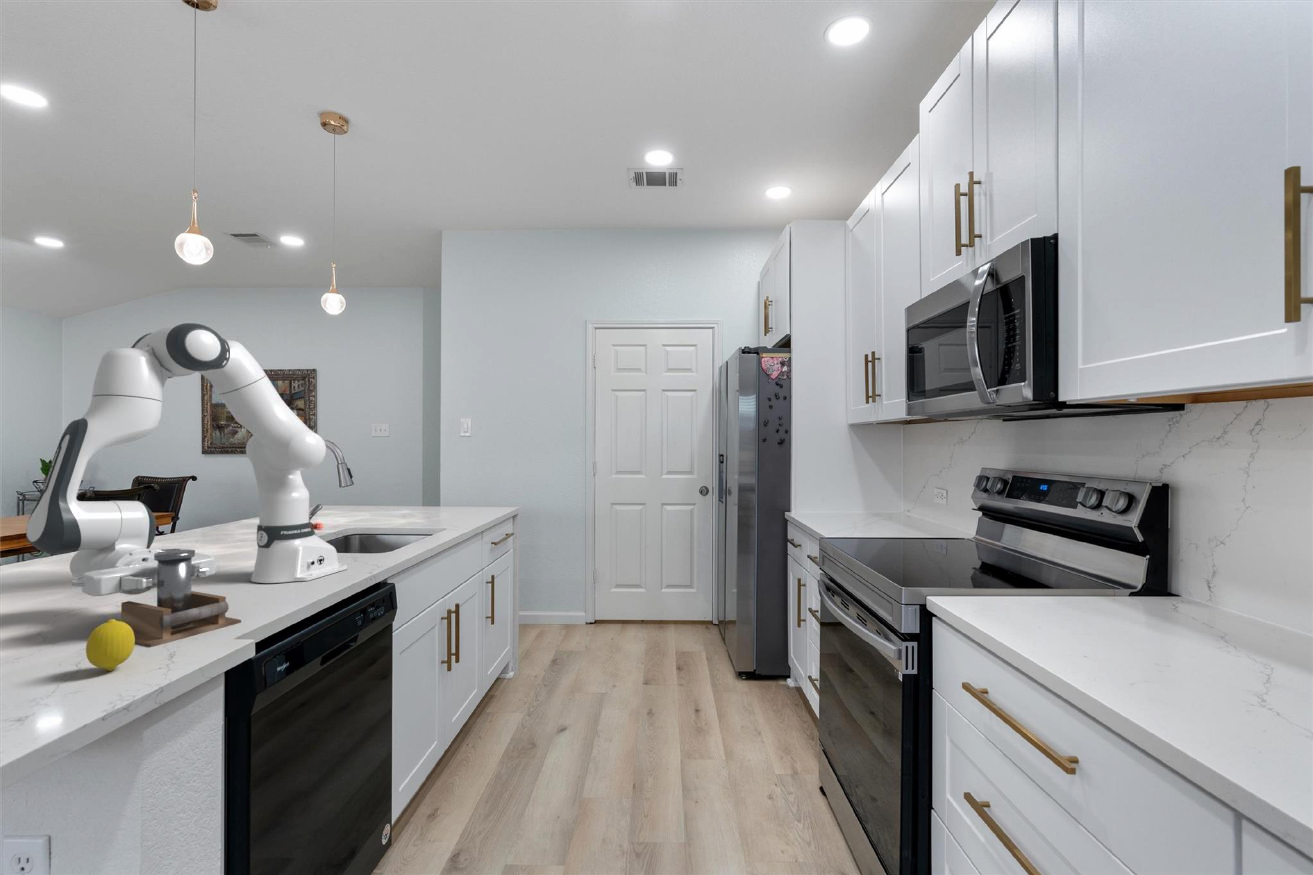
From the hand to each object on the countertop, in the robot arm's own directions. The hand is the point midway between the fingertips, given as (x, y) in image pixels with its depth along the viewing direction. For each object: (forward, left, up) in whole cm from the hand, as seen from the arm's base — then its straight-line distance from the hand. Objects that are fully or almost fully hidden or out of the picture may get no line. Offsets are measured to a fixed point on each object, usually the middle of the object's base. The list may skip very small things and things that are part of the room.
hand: (177, 577), depth 110 cm
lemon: (+16, +13, -10) cm, 23 cm away
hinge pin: (0, -1, -9) cm, 9 cm away
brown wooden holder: (0, -1, -10) cm, 10 cm away
